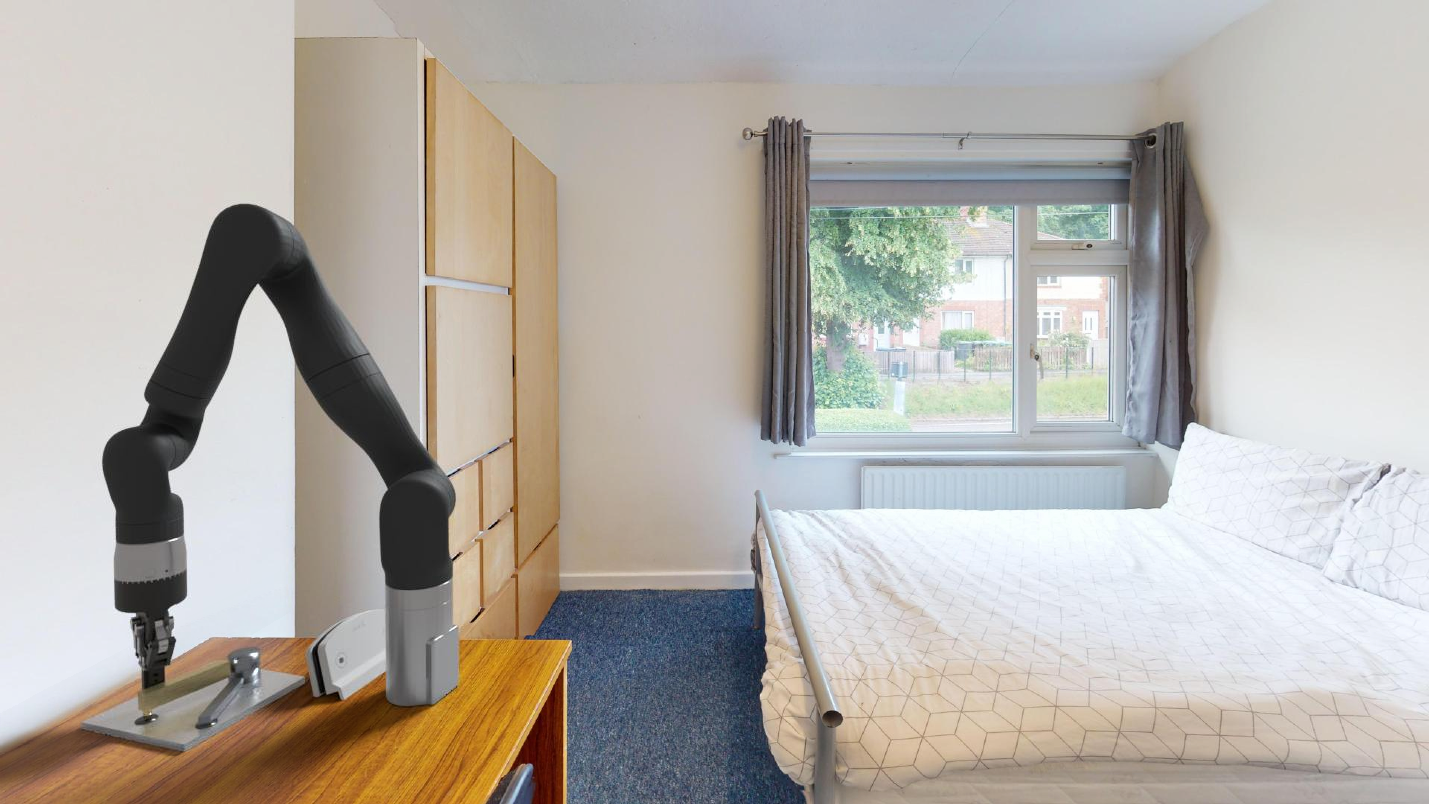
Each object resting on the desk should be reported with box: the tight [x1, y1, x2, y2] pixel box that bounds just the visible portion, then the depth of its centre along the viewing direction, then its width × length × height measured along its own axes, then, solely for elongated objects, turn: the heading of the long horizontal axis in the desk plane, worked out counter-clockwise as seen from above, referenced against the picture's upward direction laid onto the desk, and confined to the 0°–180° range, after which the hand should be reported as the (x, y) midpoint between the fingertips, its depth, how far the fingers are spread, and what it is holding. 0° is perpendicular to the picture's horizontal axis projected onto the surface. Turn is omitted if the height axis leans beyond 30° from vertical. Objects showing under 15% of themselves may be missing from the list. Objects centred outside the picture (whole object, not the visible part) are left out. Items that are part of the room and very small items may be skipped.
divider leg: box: [137, 658, 230, 719], centre depth 91 cm, size 10×2×4 cm, turn 158°
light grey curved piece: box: [305, 608, 386, 701], centre depth 104 cm, size 17×5×10 cm, turn 170°
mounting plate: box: [80, 646, 306, 753], centre depth 93 cm, size 18×18×5 cm
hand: (153, 692), depth 90 cm, fingers closed
